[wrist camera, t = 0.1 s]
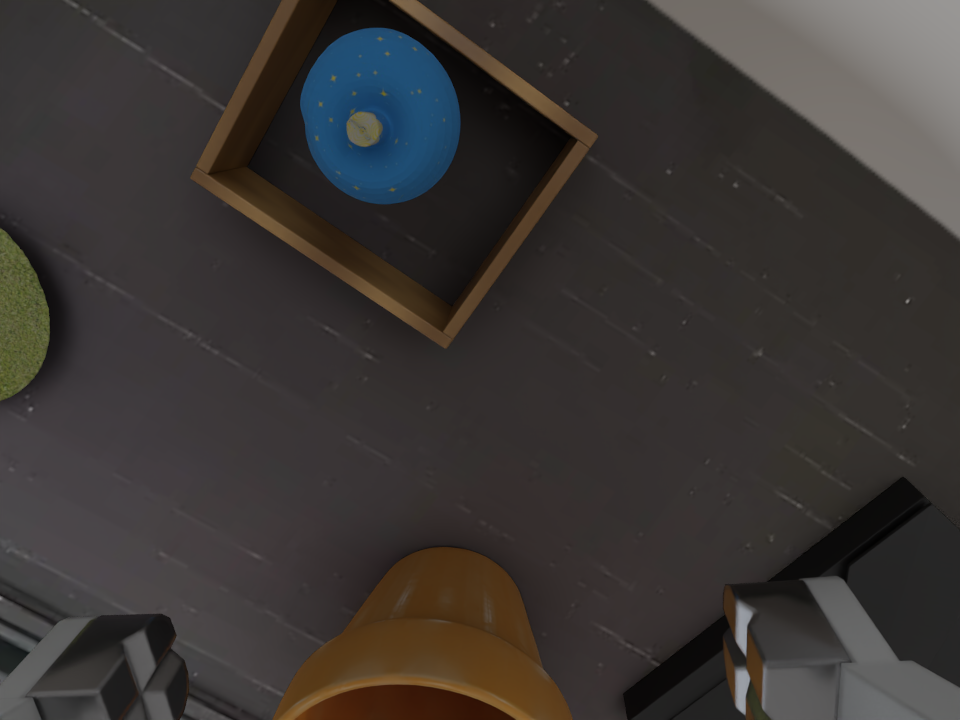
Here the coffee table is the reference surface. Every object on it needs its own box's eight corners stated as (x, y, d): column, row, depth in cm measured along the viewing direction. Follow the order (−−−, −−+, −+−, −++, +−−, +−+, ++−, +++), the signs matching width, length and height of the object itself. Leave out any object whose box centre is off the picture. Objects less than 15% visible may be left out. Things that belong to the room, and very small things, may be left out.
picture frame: (903, 476, 37) (623, 693, 43) (932, 504, 34) (629, 732, 40) (1080, 644, 40) (794, 826, 46) (1120, 682, 37) (810, 870, 43)
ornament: (422, 32, 31) (337, -34, 17) (505, 114, 32) (490, 116, 18) (351, 121, 33) (219, 128, 19) (432, 197, 34) (365, 259, 20)
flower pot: (286, 616, 43) (190, 818, 31) (423, 457, 39) (375, 617, 26) (468, 734, 45) (447, 967, 33) (617, 596, 41) (656, 804, 29)
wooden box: (231, 170, 34) (188, 178, 30) (347, -48, 31) (319, -74, 26) (455, 321, 36) (445, 349, 32) (589, 133, 32) (599, 136, 28)
